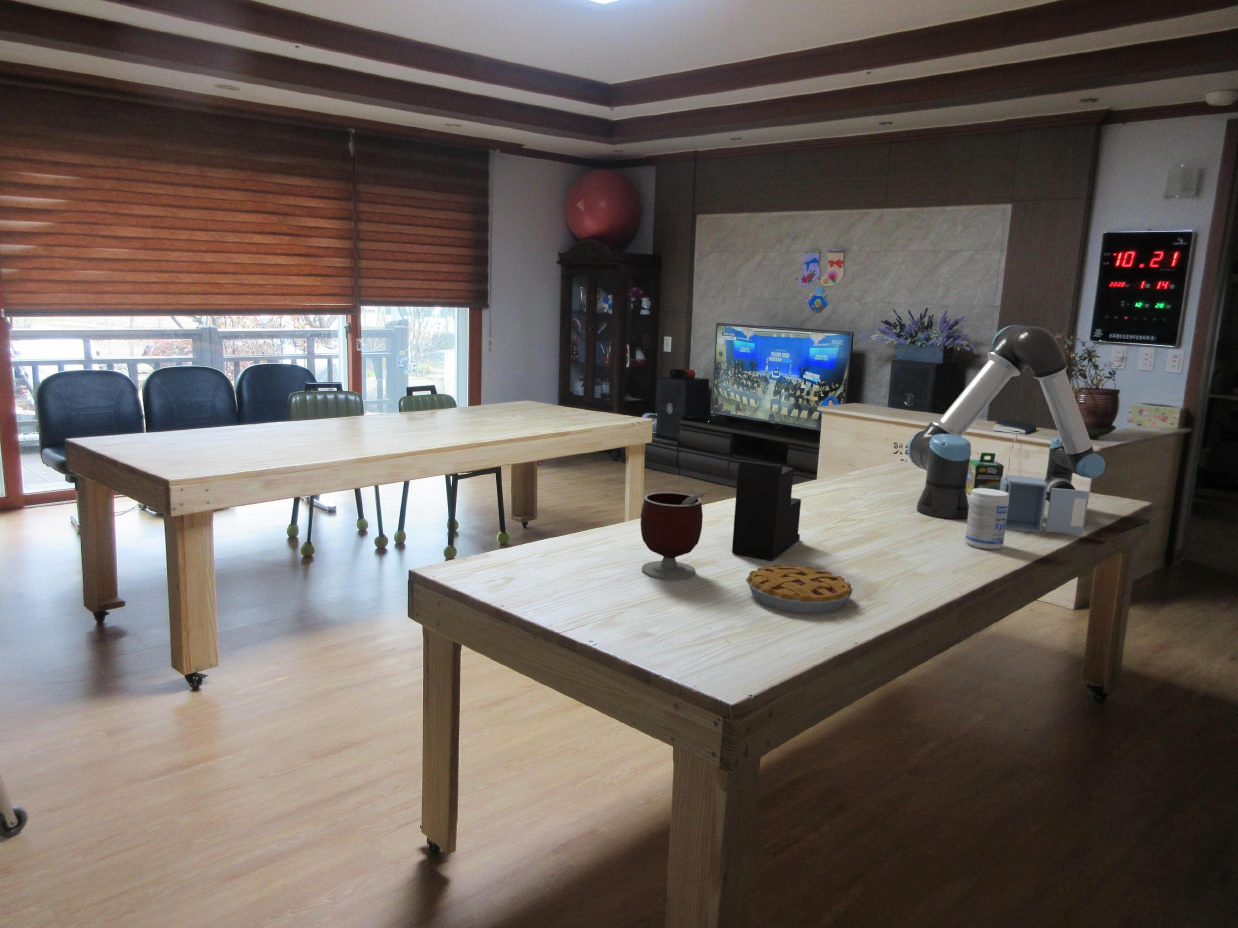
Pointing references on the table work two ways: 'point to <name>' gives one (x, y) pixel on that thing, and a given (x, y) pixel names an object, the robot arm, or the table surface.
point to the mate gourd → (671, 532)
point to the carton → (1024, 502)
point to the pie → (799, 589)
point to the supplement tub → (987, 518)
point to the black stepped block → (765, 510)
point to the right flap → (1067, 511)
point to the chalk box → (984, 473)
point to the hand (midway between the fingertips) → (1073, 508)
